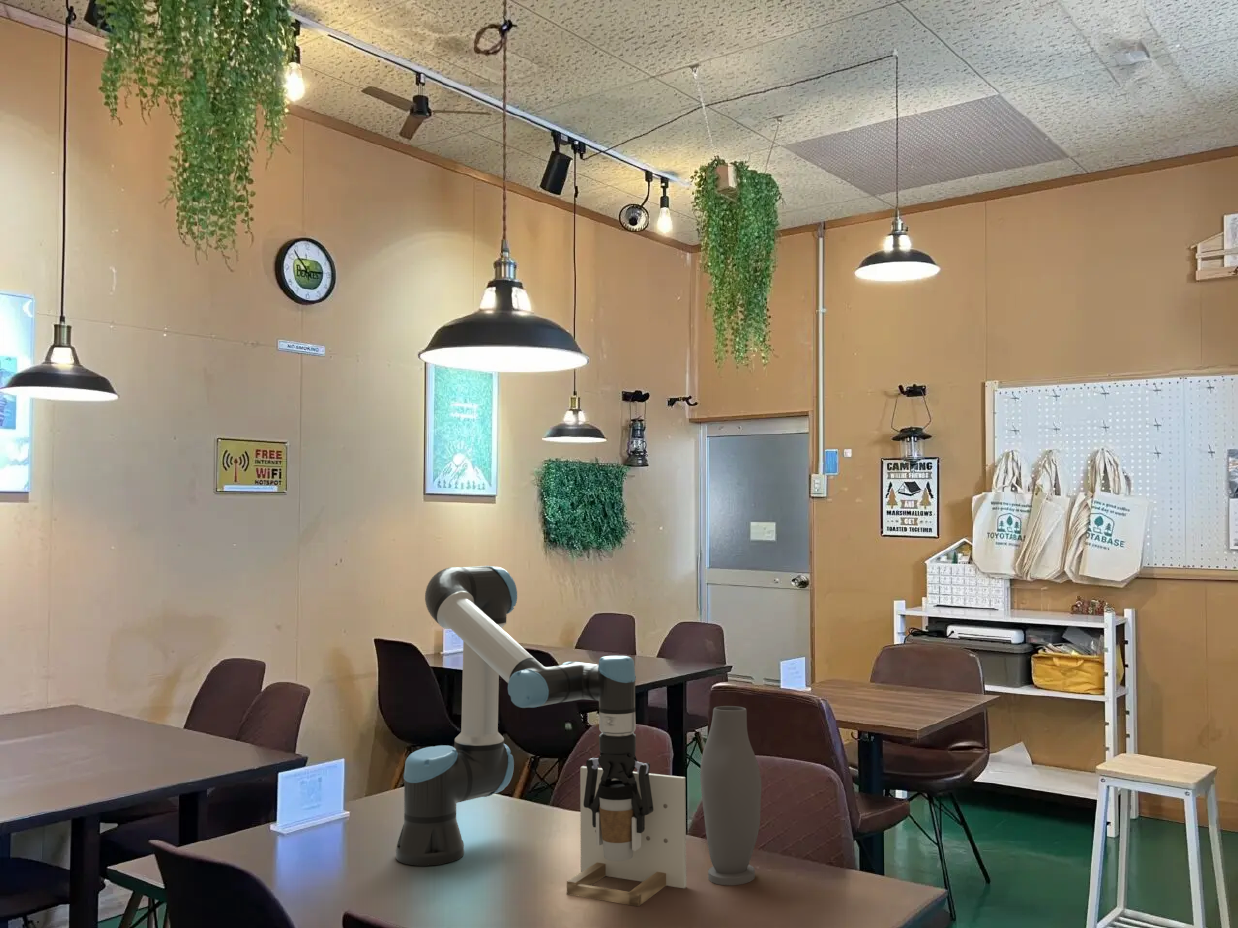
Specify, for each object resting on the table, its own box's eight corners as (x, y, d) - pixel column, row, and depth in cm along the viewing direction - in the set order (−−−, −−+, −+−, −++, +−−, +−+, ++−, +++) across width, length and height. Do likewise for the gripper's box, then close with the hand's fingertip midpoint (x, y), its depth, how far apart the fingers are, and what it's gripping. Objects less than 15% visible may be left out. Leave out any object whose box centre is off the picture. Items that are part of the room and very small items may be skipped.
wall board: (580, 871, 219) (580, 767, 221) (583, 869, 220) (583, 766, 222) (684, 888, 208) (682, 778, 210) (686, 886, 210) (685, 777, 211)
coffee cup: (634, 864, 204) (634, 787, 205) (593, 861, 205) (593, 785, 207) (642, 851, 212) (641, 777, 213) (602, 849, 214) (602, 776, 215)
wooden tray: (566, 893, 206) (566, 881, 206) (597, 874, 217) (597, 862, 217) (638, 906, 198) (638, 892, 199) (666, 885, 210) (666, 872, 210)
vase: (744, 891, 206) (743, 714, 210) (688, 880, 213) (687, 709, 216) (771, 874, 217) (769, 706, 221) (716, 864, 224) (715, 702, 228)
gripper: (565, 731, 212) (565, 844, 210) (655, 739, 203) (656, 857, 201) (582, 725, 219) (583, 835, 217) (670, 732, 209) (671, 847, 208)
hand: (618, 845), depth 209 cm, fingers closed on coffee cup, 7 cm apart
